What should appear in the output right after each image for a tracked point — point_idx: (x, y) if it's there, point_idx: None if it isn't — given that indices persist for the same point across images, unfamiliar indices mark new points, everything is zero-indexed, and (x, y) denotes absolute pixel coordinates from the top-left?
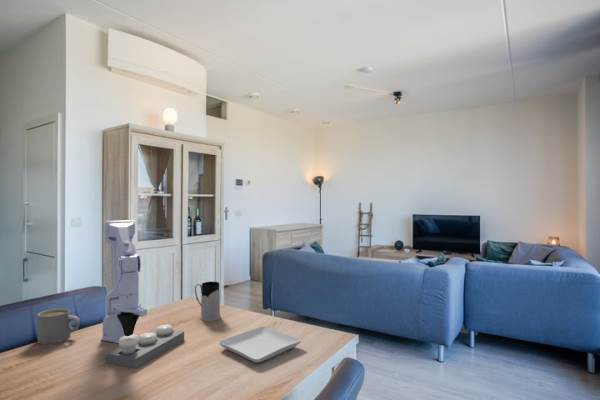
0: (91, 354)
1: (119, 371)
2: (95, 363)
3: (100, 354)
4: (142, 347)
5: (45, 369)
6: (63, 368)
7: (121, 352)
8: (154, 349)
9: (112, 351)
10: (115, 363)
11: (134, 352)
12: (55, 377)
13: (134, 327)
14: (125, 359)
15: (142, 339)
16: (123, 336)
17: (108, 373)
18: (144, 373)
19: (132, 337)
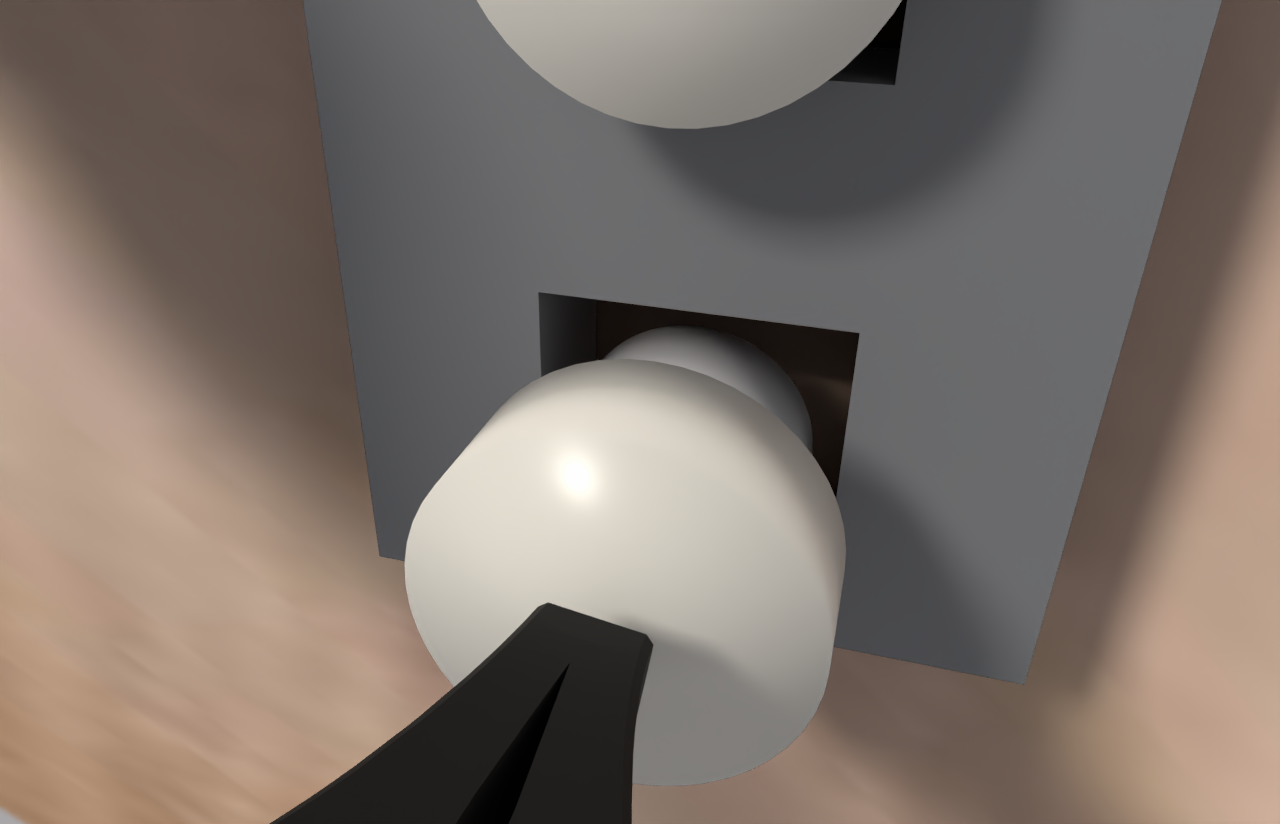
0: (56, 292)
1: None
2: (350, 507)
3: (152, 264)
4: (826, 232)
5: (56, 667)
6: (170, 639)
7: None
8: (1155, 191)
9: (420, 490)
10: None
11: (810, 450)
12: (292, 783)
13: (629, 778)
14: None
15: (691, 121)
16: (419, 565)
17: None
18: (1259, 683)
19: (671, 595)
